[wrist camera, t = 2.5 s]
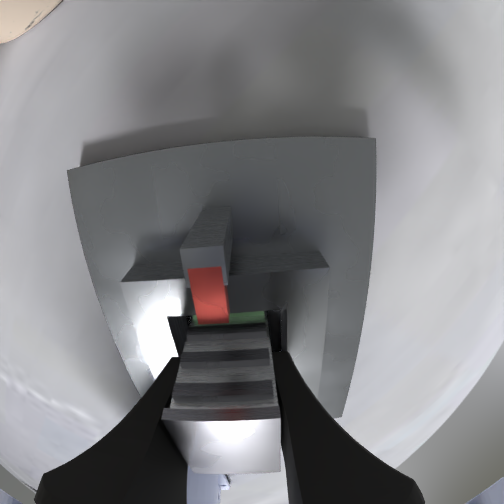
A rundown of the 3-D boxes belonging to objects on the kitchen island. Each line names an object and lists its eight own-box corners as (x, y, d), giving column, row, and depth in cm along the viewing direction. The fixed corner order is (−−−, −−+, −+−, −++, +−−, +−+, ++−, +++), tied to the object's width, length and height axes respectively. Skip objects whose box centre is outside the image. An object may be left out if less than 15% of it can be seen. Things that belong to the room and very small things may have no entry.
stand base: (338, 405, 16) (356, 466, 11) (160, 415, 16) (146, 475, 11) (365, 137, 10) (441, 142, 5) (79, 167, 10) (-1, 191, 5)
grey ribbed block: (268, 362, 13) (280, 471, 7) (206, 365, 13) (194, 473, 7) (264, 296, 11) (281, 417, 6) (192, 300, 11) (161, 419, 6)
